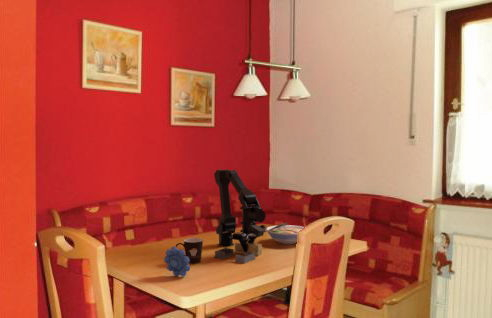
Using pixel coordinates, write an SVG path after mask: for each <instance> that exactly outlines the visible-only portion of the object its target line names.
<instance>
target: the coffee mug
mask: <svg viewBox="0 0 492 318" xmlns="http://www.w3.org/2000/svg"><path fill="white" fill-rule="evenodd" d="M203 243H204V239H203V238H200V237H189V238H185V239H184V240H183V243H182V242H178V243H176V244H175V247H176V248H177V249H178V247H177V246H179V245H181V246H183V248H184V252H185V255H184V256H187V257H188V258H189V260H190V262H189V263H188V265H197V264H198V265H199V264H201V263H202V262H201V261H202V252H203Z"/></svg>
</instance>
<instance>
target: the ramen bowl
mask: <svg viewBox="0 0 492 318" xmlns="http://www.w3.org/2000/svg"><path fill="white" fill-rule="evenodd" d="M304 227H305V226H301V225H294V224H293V225H290V224H289V222H283V223H280V224H278V225H272V226H268V227H266V232H267V233H268V235H269V236H270V238H271V239H272V240H274V241H276V242H279V243H280V244H282V245H293V244H295V243H298V242H297V234H298V232H299V231H300V230H302V229H303V228H304ZM266 232H265V233H266Z"/></svg>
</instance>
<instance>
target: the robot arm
mask: <svg viewBox="0 0 492 318" xmlns="http://www.w3.org/2000/svg"><path fill="white" fill-rule="evenodd" d="M213 177H214V181H215V183H216V185H217V186H218V190H219V199H220V200H219V202H220V212H221V216H220V217H219V221H218V225H217V226H216V228H215V232H216V234H217V235H218V243H217V244H216V245H217V246H218V247H224V248H228V247H231V246H235V243H233V240H234V241H239V242H240V244H241V246H242V248H243V250H244V252H245V251H246V252H247V246H248V242H249V243H255V241H256V239H257V238H260V237H263V236H264V234H265V233H266V231H267V229H266V228H267V227H266V225H265V224H261V223H264V221H266V217H267V216H266V213H265V211H264V210H263V208H262V207H261V205H260V202H259V200H258V198H257V196H256V194H255V193H254V192H253V191H252V190H250V189H249V188H248V187H247V186H246V185H245V183H244V182H243V180H242V179H241V177H240V175H239V174H238V171H237V170H236V169H231V170H230V169H225V168H223V169H216V170H215V172H214V175H213ZM230 184H231V185H232V186H233V189H235V190H236V192H237V194H238V201H239V203H240V205H241V206H240V207H239V209H240V210H242V212H241V215H242V216H241V218H242V219H241V220H240V224H241V229H240V232H239V231H238V232H236V229H237V221H236V216H234V215H233V214H232V207H231V198H230V188H229V186H230ZM257 223H260V224H261V225H257Z"/></svg>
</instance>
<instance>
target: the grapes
mask: <svg viewBox="0 0 492 318" xmlns="http://www.w3.org/2000/svg"><path fill="white" fill-rule="evenodd" d="M184 255H185V250H184V249H182V248H181V249H178V247H177V248H176V246H172V247H171V248H170V249H169V248H167V249H166V250H165V255H164V258H163V261H164V263H166V264H167V265H166V269H167V271H169V272H172V274H173V275H174V276H175V277H179V276H181V277H186V275H187V272H190V271H191V267H190V264H188V263H189V262H190V260H189V258H188V257H187V256H184Z"/></svg>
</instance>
